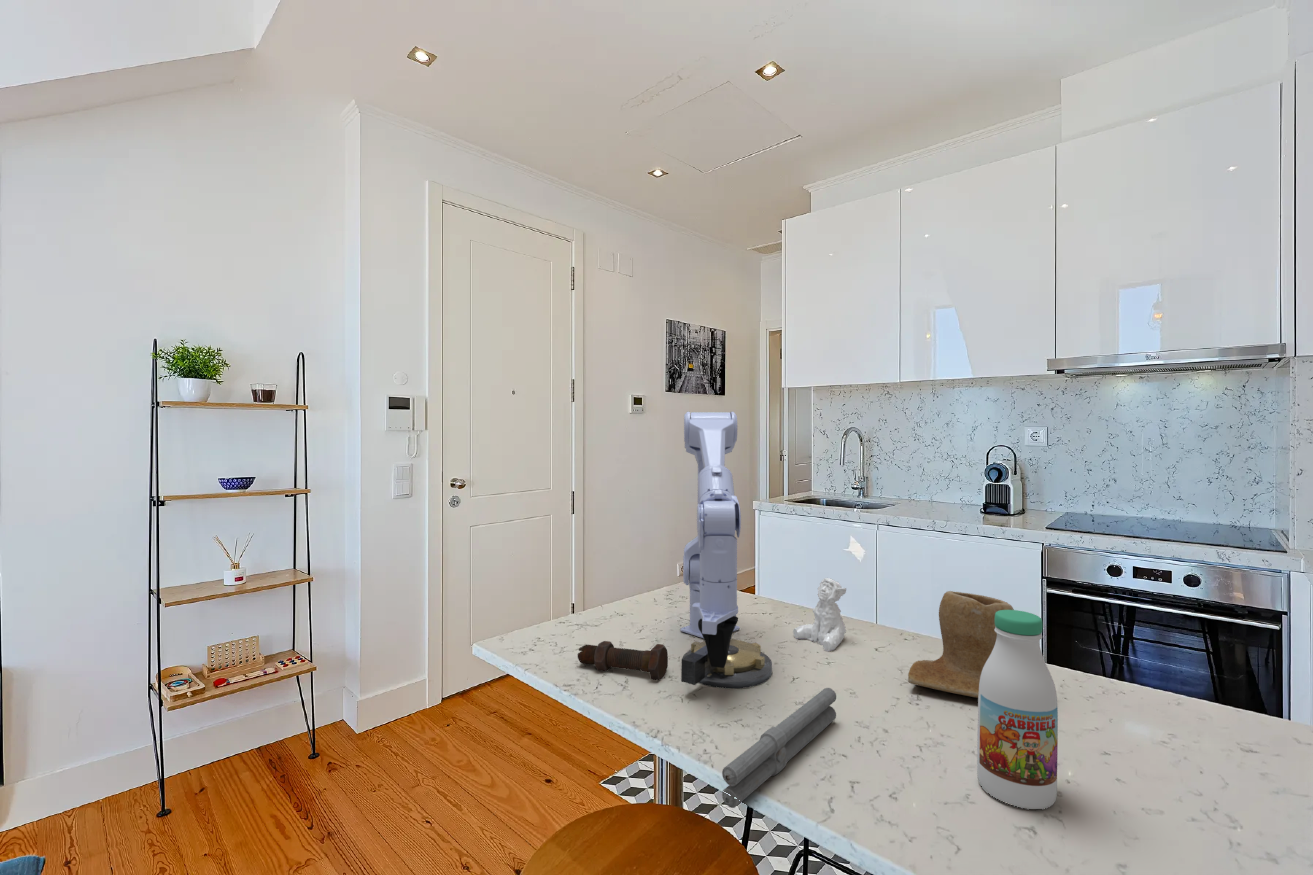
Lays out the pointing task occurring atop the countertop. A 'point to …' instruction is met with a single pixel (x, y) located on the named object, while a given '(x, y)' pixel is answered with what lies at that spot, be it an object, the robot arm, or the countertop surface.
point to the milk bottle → (1018, 716)
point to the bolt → (626, 658)
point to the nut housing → (738, 676)
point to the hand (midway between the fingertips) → (718, 665)
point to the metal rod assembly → (777, 747)
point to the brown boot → (961, 644)
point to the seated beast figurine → (825, 617)
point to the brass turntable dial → (738, 660)
